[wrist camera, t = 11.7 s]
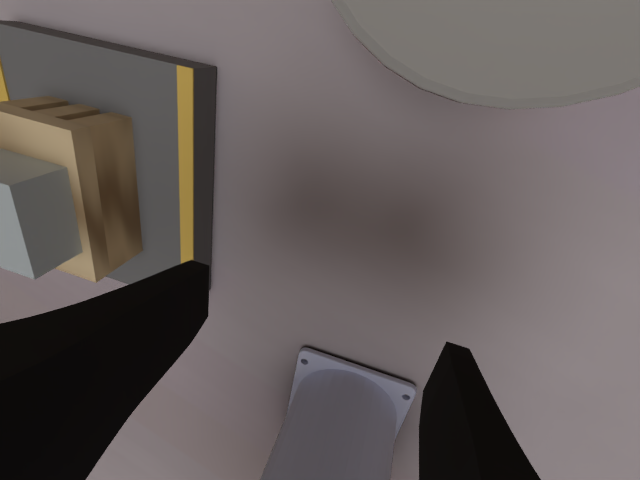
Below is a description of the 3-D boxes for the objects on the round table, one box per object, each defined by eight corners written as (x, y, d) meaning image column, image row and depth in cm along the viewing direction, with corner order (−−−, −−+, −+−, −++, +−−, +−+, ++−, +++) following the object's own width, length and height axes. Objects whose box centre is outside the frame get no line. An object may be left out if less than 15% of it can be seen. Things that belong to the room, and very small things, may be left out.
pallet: (142, 250, 22) (96, 282, 19) (73, 228, 23) (18, 255, 20) (131, 117, 19) (70, 130, 15) (48, 95, 19) (-26, 104, 16)
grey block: (82, 252, 19) (34, 279, 16) (24, 232, 19) (-30, 256, 17) (66, 167, 16) (8, 185, 14) (1, 148, 17) (-65, 163, 15)
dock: (210, 289, 25) (193, 307, 23) (62, 240, 27) (36, 253, 25) (216, 66, 18) (192, 68, 16) (17, 21, 20) (-24, 18, 18)
